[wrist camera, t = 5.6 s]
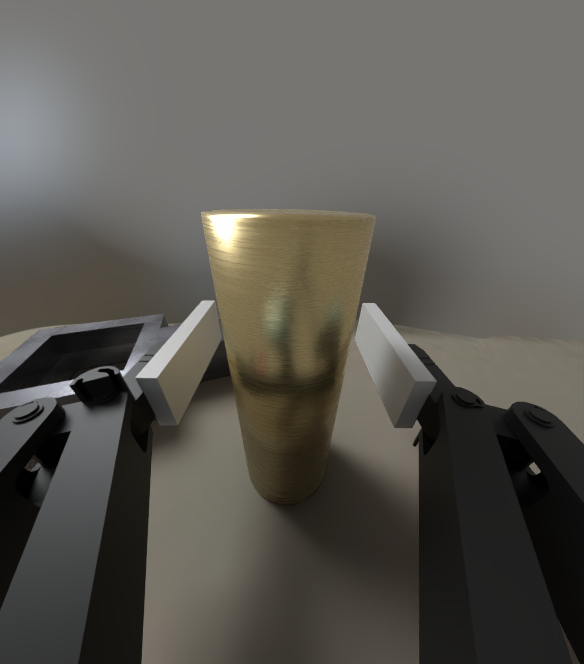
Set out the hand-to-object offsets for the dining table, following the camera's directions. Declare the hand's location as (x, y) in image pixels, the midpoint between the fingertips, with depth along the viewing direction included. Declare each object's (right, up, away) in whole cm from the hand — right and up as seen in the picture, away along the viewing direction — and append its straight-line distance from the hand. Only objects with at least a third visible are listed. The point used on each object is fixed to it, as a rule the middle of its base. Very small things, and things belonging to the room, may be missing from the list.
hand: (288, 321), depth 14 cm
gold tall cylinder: (0, -9, 0) cm, 9 cm away
